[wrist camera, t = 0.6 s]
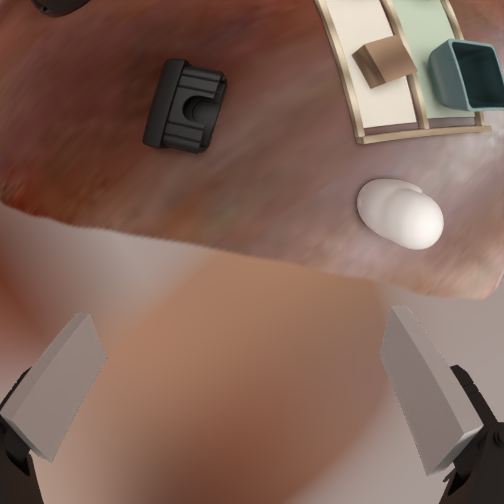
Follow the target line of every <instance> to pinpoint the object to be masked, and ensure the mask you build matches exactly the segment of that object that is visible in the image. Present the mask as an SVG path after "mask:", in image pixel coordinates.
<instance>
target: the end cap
mask: <svg viewBox="0 0 504 504" xmlns="http://www.w3.org/2000/svg"><path fill="white" fill-rule="evenodd" d="M226 88H227V79H226V78H225V76H224V74H223V73H222V72H221V71H216V70H211V69H206V68H201V67H195V66H192V65H191V64H190V63H189V62H187V61H186V60H183V59H169V60H167V61H166V62H165V64H164V67H163V70H162V73H161V76H160V79H159V82H158V85H157V88H156V92H155V95H154V98H153V102H152V105H151V109H150V112H149V116H148V120H147V124H146V127H145V131H144V135H143V140H142V142H143V143H144V144H145V145H148V146H151V147H155V148H159V149H161V148H169V147H171V148H176V149H180V150H184V151H188V152H192V153H196V154H197V153H199V152H200V153H202V152H203V151H205V150H206V149H207V148H208V147H209V144H210V140H211V137H212V133H213V130H214V126H215V123H216V120H217V117H218V113H219V110H220V107H221V104H222V101H223V97H224V94H225V91H226Z"/></svg>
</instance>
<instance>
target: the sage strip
mask: <svg viewBox="0 0 504 504" xmlns="http://www.w3.org/2000/svg"><path fill="white" fill-rule="evenodd" d="M391 1H392V3H393V5H394V8H395V10H396V13H397V15H398V18H399V20H400V23H401V25H402V28H403V31H404V34H405V36H406V39H407V42H408V45H409V48H410V51H411V55H412V58H413V61H414V64H415V66H416V68H417V70H418V72H417V75H418V79H419V83H420V87H421V91H422V95H423V99H424V104H425V108H426V113H427V118H445V117H475V113H474V112H470V111H462V110H454V109H449V108H447V107H445V106H443V105H442V104H441V103H440V102H439V101H438V99H437V97H436V94H435V90H434V86H433V83H432V79H431V76H430V73H429V70H428V59H429V55H430V54H431V52H432V51H433V50H434V49H435V48H437V47H438V46H439V45H441V44H442V43H444V42H445V41H447V40H448V39H455V37H454V34H453V31H452V29H451V26H450V23H449V21H448V18H447V16H446V13H445V11H444V9H443V6H442V4H441V2H440V0H391Z"/></svg>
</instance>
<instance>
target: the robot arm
mask: <svg viewBox="0 0 504 504" xmlns="http://www.w3.org/2000/svg"><path fill="white" fill-rule="evenodd" d="M88 1H89V0H31V2H32V3H33V4H34V5H35V7H36V8H37V9H38V10H39V11H40V12H41V13H44V14H46V15H49V16H53V17H57V16H62V15H65V14H68V13H70V12H72V11H74V10H76V9H78V8H79V7H81V6H82V5H84V4H85V3H86V2H88ZM379 356H380V359H381V361H382V363H383V366H384V368H385V370H386V372H387V374H388V377H389V379H390V382H391V384H392V386H393V389H394V391H395V393H396V396H397V398H398V400H399V403H400V405H401V408H402V410H403V413H404V415H405V418H406V420H407V423H408V425H409V428H410V430H411V433H412V435H413V438H414V441H415V444H416V447H417V449H418V452H419V455H420V458H421V460H422V463H423V466H424V469H425V472H426V475H427V476H430V475H433V474H435V473H437V472H440V471H443V470H445V469H446V468H447V467H448V466H449V465H450V464H451V463H452V462H453V463H454V465H455V468H454V469H453V470H452V471H451V472H450V473H449V474H448V475H447V476H446V477H445V479H444V480H443V482H446V481H447V480H448V479H449V478H450V479H449V482H448V484H447V487H446V489H445V491H444V494H443V496H442V498H441V500H440V502H439V504H504V422H498V421H497V420H496V418H495V416H494V415H493V413H492V411H491V410H490V408H489V406H488V405H487V403H486V401H485V400H484V398H483V396H482V395H481V393H480V392H478V391H479V390H478V388H477V387H476V385H475V384H473V383H474V382H473V381H472V379H471V378H470V376H469V374H468V373H467V372H466V371H465V370H463V369H462V368H461V367H459V366H458V365H455V366H451V367H449V366H448V364H447V363H446V361H445V359H444V358H443V356H442V355H441V354H440V352H439V350H438V349H437V347H436V346H435V344H434V343H433V341H432V340H431V338H430V337H429V336H428V334H427V333H426V331H425V330H424V328H423V327H422V326H421V324H420V323H419V321H418V320H417V319H416V317H415V316H414V314H413V313H412V312H411V310H410V309H409V308H408V306H407V305H399V306H391V308H390V312H389V317H388V322H387V326H386V330H385V335H384V339H383V343H382V347H381V350H380V354H379ZM106 360H107V356H106V354H105V352H104V349H103V347H102V345H101V342H100V340H99V337H98V335H97V332H96V330H95V327H94V325H93V322H92V319H91V316H90V314H89V313H80V312H77V313H76V314H75V315H74V316H73V318H72V319H71V320H70V321H69V322H68V323H67V325H66V326H65V327H64V328H63V329H62V330H61V332H60V333H59V334H58V335H57V336H56V338H55V339H54V340H53V341H52V342H51V344H50V345H49V346H48V347H47V349H46V350H45V351H44V352H43V354H42V355H41V356H40V357H39V359H38V360H37V361H36V363H35V364H34V365H33V366H32V367H30V368H29V369H28V370H26V371H25V372H24V373H23V374H22V375H21V376H20V378H19V379H18V380H17V383H15V384H14V386H13V387H12V390H10V391H9V393H8V394H7V396H6V397H5V398H4V400H3V401H2V403H1V404H0V504H44V503H43V500H42V496H41V492H40V489H39V485H38V482H37V477H36V473H35V469H34V464H33V460H32V457H31V455H30V454H29V451H30V449H31V450H33V452H34V453H35V454H36V455H37V456H38V457H40V458H42V459H45V460H47V461H49V462H51V463H52V462H53V460H54V457H55V455H56V453H57V451H58V449H59V447H60V445H61V443H62V441H63V439H64V437H65V435H66V433H67V431H68V429H69V427H70V425H71V423H72V421H73V419H74V417H75V416H76V414H77V412H78V410H79V408H80V406H81V404H82V402H83V401H84V399H85V397H86V395H87V393H88V392H89V390H90V388H91V386H92V384H93V383H94V381H95V379H96V377H97V376H98V374H99V372H100V370H101V369H102V367H103V365H104V364H105V362H106Z"/></svg>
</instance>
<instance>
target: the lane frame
mask: <svg viewBox="0 0 504 504" xmlns="http://www.w3.org/2000/svg"><path fill="white" fill-rule="evenodd" d="M314 1H315V3H316V6H317V8H318V11H319V13H320V16H321V19H322V21H323V24H324V27H325V30H326V33H327V36H328V38H329V41H330V44H331V47H332V51H333V54H334V57H335V60H336V63H337V67H338V70H339V74H340V77H341V81H342V84H343V88H344V92H345V96H346V99H347V103H348V107H349V112H350V116H351V120H352V124H353V129H354V134H355V138H356V143H360V144H367V143H373V142H380V141H387V140H395V139H403V138H411V137H421V136H431V135H441V134H454V133H469V132H492V128H491V126H485V122H484V116H483V111H476V112H474V113H475V123H476V125H474V126H453V127H438V128H429V123H428V118H427V113H426V108H425V104H424V99H423V95H422V91H421V87H420V83H419V79H418V75H417V72H415V73H412V74H409V75H407V76H408V80H409V84H410V88H411V92H412V96H413V100H414V105H415V110H416V114H417V119H418V124H419V129H415V130H405V131H396V132H388V133H380V134H373V135H366V136H365V134H364V129H363V125H362V120H361V116H360V111H359V107H358V103H357V99H356V95H355V91H354V88H353V84H352V80H351V77H350V73H349V70H348V66H347V63H346V60H345V57H344V53H343V50H342V47H341V44H340V41H339V38H338V35H337V32H336V29H335V27H334V24H333V21H332V19H331V16H330V13H329V11H328V8H327V6H326V3H325V1H324V0H314ZM381 2H382V4H383V6H384V9H385V11H386V14H387V16H388V19H389V21H390V24H391V27H392V29H393V32H394V35H397V34H398V36H399V38H400V39H401V41H402V43H403V45H404V46H405V48H406V50H407V52H408V53H409V55H410V57H411V59H412V61H413V58H412V55H411V51H410V48H409V45H408V42H407V39H406V36H405V34H404V31H403V28H402V25H401V23H400V20H399V18H398V15H397V13H396V10H395V8H394V5H393V3H392V1H391V0H381ZM440 2H441V4H442V6H443V9H444V11H445V13H446V16H447V18H448V21H449V23H450V26H451V29H452V31H453V34H454V37H455V39H459V40H464V38H463V35H462V32H461V30H460V27H459V24H458V22H457V19H456V17H455V14H454V12H453V10H452V7H451V5H450V3H449V0H440ZM413 63H414V61H413Z"/></svg>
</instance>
